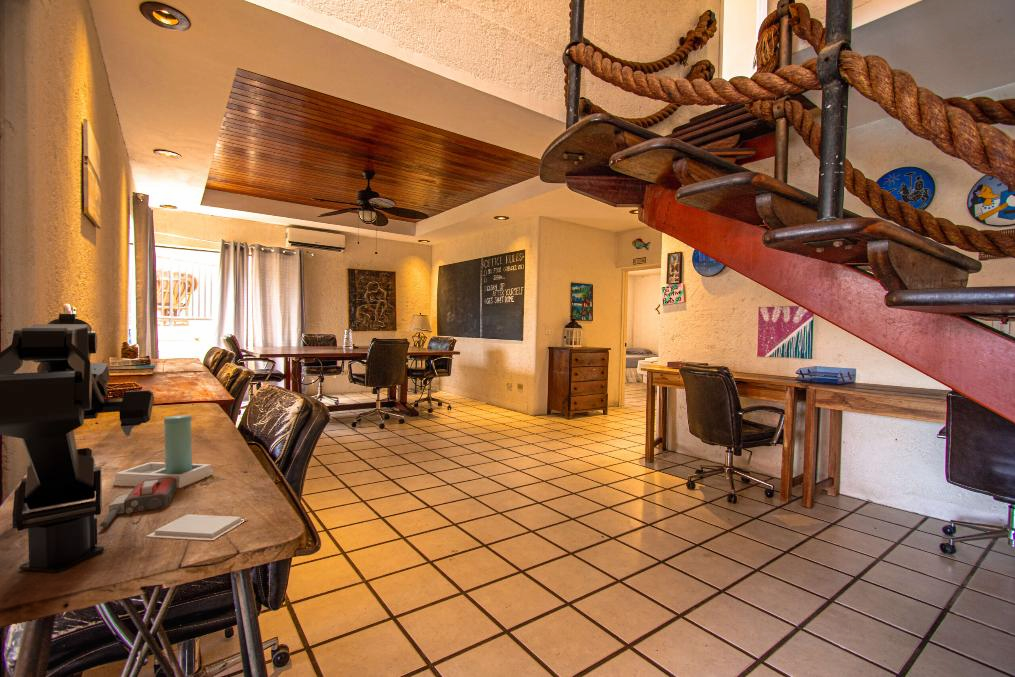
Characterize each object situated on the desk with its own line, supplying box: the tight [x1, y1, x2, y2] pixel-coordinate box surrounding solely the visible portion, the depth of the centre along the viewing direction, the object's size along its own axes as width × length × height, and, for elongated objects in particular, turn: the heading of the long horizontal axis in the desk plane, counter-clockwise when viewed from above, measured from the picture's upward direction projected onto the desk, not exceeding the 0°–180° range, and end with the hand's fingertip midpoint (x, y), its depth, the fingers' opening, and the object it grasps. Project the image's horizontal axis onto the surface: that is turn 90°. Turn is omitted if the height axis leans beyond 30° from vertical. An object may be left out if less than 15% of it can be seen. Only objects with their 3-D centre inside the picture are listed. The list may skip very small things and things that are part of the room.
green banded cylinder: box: [163, 414, 193, 474], centre depth 99 cm, size 5×5×13 cm
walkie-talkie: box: [99, 477, 178, 528], centre depth 84 cm, size 9×4×20 cm
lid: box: [145, 513, 245, 541], centre depth 75 cm, size 12×8×1 cm, turn 83°
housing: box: [112, 461, 214, 489], centre depth 99 cm, size 9×16×2 cm, turn 82°
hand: (97, 436), depth 83 cm, fingers open, 9 cm apart
